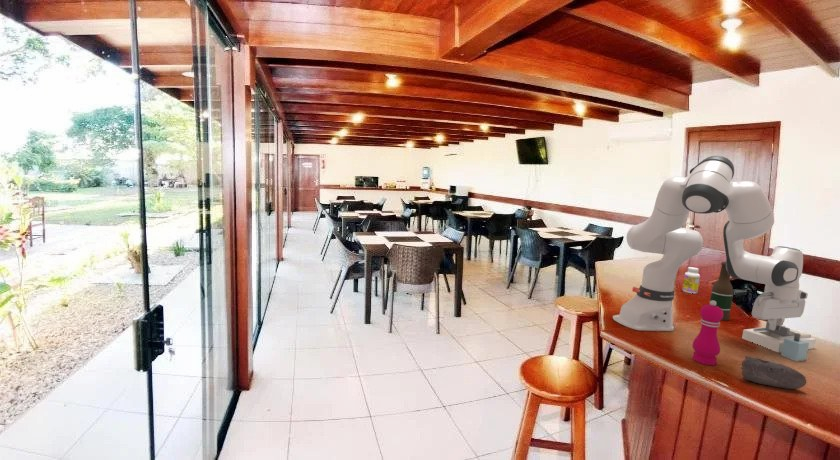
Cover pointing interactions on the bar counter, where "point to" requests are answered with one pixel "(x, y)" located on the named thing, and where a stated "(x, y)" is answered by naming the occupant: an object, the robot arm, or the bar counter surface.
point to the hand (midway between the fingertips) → (774, 329)
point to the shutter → (780, 331)
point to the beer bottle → (723, 292)
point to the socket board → (772, 338)
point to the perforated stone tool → (771, 374)
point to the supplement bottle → (691, 280)
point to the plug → (795, 348)
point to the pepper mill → (708, 335)
